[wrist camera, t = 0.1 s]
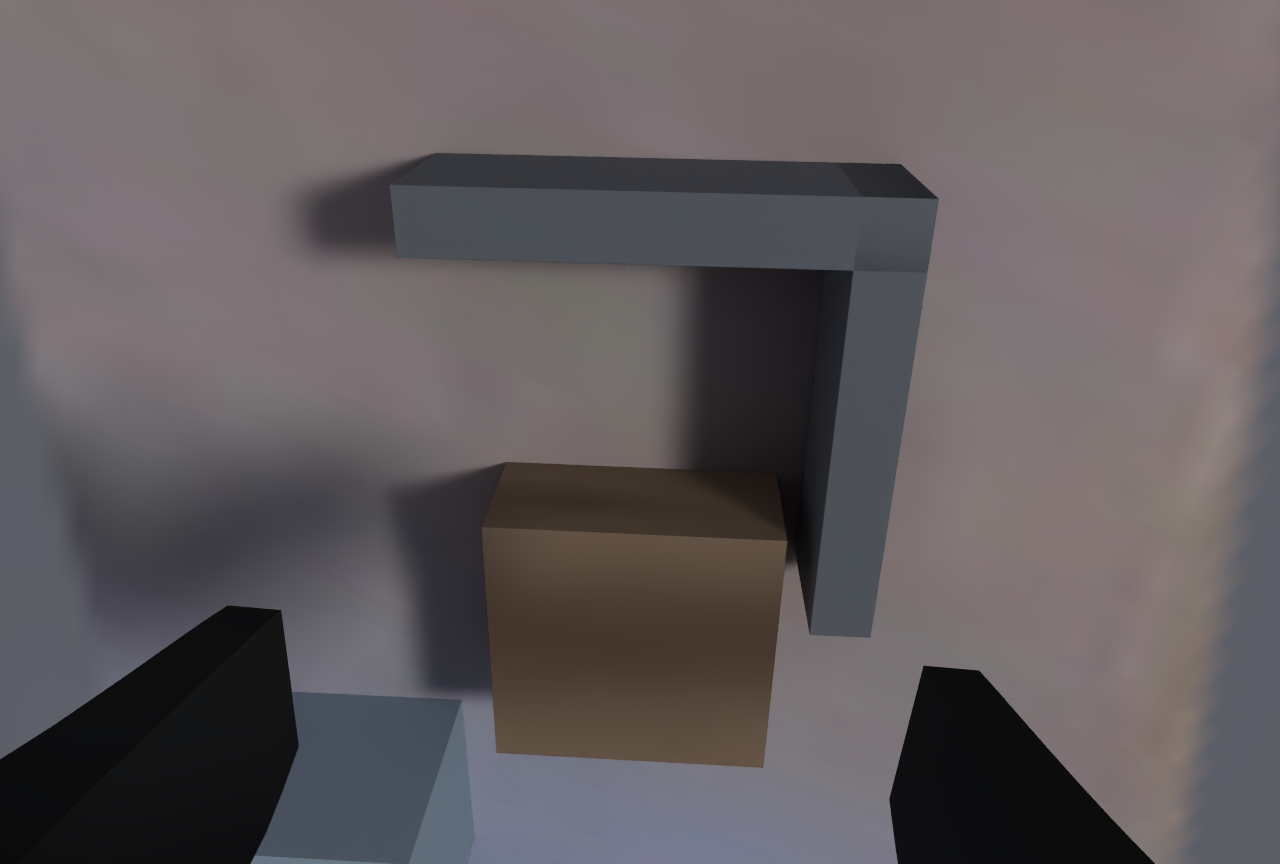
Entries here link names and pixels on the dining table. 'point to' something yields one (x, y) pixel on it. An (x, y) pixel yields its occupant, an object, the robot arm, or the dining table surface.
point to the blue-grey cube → (374, 784)
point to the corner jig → (735, 237)
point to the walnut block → (633, 611)
